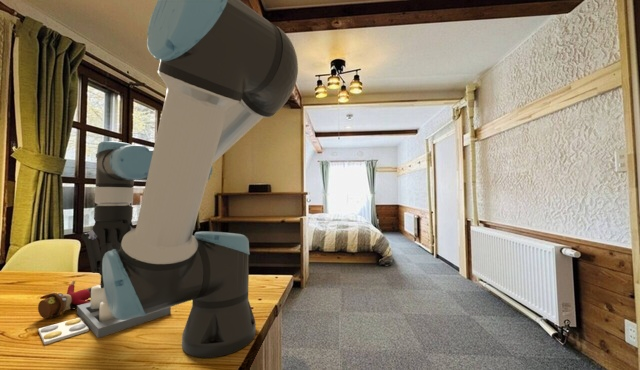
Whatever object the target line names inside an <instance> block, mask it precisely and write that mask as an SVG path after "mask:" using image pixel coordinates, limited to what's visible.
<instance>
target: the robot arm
mask: <svg viewBox="0 0 640 370" xmlns="http://www.w3.org/2000/svg"><path fill="white" fill-rule="evenodd" d="M154 5H155V6H154V8H153V10H152V14H151V16H150V19H149V23H148V26H147V27H148V28H147V32H146V33H147V34H146V35H148V36H147V39H146V46H147V50H148V52H149V53H150V55H151V56H153V57H154V58H155V59H156V60H157V61H158V60H159V65H158V68H157V69H158V70H157V75H158V76H159V77H160V78H161V80H162V81H163V83H164V85H165V87H166V93H165V98H164V101H163V107H162V111H161V115H160V118H159V124H158V129H157V133H156V137H155V141H154V147H153V149H152V148H151V149H150V148H148V147H146V146H145V145H140V144H130V143H127V142H122V141H121V142H120V141H109V140H108V141H101V142H99V143H98V144H97V151H96V154H95V157H96V166H95V167H96V172H95V173H96V174H95V187H94V188H95V190H94V191H95V192H94V203H95V204H97V205H95V206H94V209H93V220H94V222H95V223H94V225H93V226H92V229H91V230H89V231H88V232H85V233H81V235H80V237H81V240H83V242H84V244H85V247H86V252H87V255H88V256H87V257H88V261H89V265H90V271H91V273H93V274H96V273H97V274H99V276H100V284H101V288H104V297H103V303H108V306H109V309H110V311H111V313H112V315H113V316H114V317H115V318H116V319H119V320H127V319H131V318H135V317H139V316H146V315H147V314H150V313H153V312H156V311H159V310H162V309H166V308H169V307H171V308H172V307H175V306H177V305H182V304H185V303H187V302H190V301H192V303H191V304H192V306H191V309H190V312H189V315H188V317H187V321H186V323H185V326H184V329H183V330H182V331H183V332H182V334H181V335H182V337H181V338H182V339H181V347H182V350H183V352H184V353H185V354H187V355H189V356H191V357H195V358H202V359H203V358H205V359H206V358H210V359H211V358H218V357H223V356H227V355H231V354H232V353H236V352H238V351H240V350H241V349H243V348H245V347H247V346H248V345H249V344H250V343H252V342H253V340H254V339H255V337H256V331H257V330H256V328H257V327H256V325H257V323H256V319H255V316H254V312H253V309H252V307H251V303H250V301H249V284H250V283H249V278H250V277H249V274H250V273H249V271H250V270H249V269H250V254H251V253H250V242H249V238H248V237H247V236H246V235H244V234H243V233H242V234H241V233H234V232H223V231H196V232H195V233H194V235H193V232H194V229H195V226H196V222H197V218H198V216H199V212H200V208H201V206H202V201H203V198H204V194H205V191H206V188H207V187H206V186H207V184H208V181H209V180H210V179H211V175H212V174H213V164H214V163H216V161H218V160H219V159H220V157H222V156H223V155H224V154H225V153H227V152H228V151H229V150H230V149H231V148H232V147H233V146H234V145H235V144H236V143H237V142H238V141H239V140H241V138H242V137H244V136H245V135H246V134H247V133H248V132H249V131H250V130H252V128H254V127H255V126H256V125H257V124H258V123H259V122H260V121H261V120H262V119H264V118H267V119H268V118H271V117H273V116H274V115H275V114H277V113H278V112H279V111H280V110H281V109H282V108H283V106H284V105H285V104H286V103H287V102H288V100H289V99H290V98H291V95H292V94H293V91H294V89H295V87H296V84H297V79H298V73H299V66H298V65H299V63H298V57H297V53H296V50H295V47H294V45H293V42H292V41H291V39H290V37H289V36H288V35H287V33H286V32H285V31H284V30H282V29H281V28H280V27H279V26H277V25H276V24H275V23H273V22H271V21H269V20H268V19H266V18H265V17H264V16H263V15H261V14H260V13H258V12H257V11H256V10H254V9H252V8H251V7H250V6H249V5H247V4H246V3H245V2H243V1H242V0H157V2H156V3H155V4H154ZM135 181H146V182H145V187H144V192H143V196H142V200H141V204H140V209H139V213H138V217H137V218H138V219H137V221H136V227H134V224H133V223H132V221H133V214H134V211H133V210H134V209H133V208H134V207H133V205H131V204H133V203H134V189H135V187H134V185H135V184H134V183H135ZM98 239H99V240H98Z"/></svg>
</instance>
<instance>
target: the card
mask: <svg viewBox="0 0 640 370" xmlns="http://www.w3.org/2000/svg"><path fill="white" fill-rule="evenodd" d="M89 330H90V328H89V327H88V326H87V325H86V323H85V322H84V321H83V320H82V319H81V318H80V317H77V318H73V319H69V320H68V319H67V320H66V321H65V320H64V321H62V322H58V323H55V324H51V325H47V326H43V327H40V328H38V333H39V336H40V338H41V340H42V343H43V344H44V346H46V345H49V344H52V343H55V342H59V341H62V340H64V339H65V340H66V339H68V338H71V337H74V336H77V335H80V334H85V333H87V332H89Z"/></svg>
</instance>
